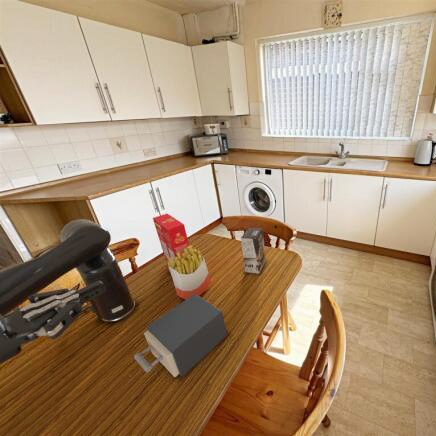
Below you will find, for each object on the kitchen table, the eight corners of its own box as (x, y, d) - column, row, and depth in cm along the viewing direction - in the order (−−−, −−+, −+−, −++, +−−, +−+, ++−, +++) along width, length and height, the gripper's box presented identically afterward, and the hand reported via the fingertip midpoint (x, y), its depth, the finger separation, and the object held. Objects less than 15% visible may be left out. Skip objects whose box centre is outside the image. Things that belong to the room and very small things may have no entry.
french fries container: (212, 286, 90) (203, 246, 82) (187, 305, 81) (174, 262, 74) (204, 282, 92) (194, 242, 84) (179, 300, 83) (166, 258, 76)
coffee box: (259, 274, 96) (255, 239, 89) (244, 272, 97) (239, 237, 90) (266, 260, 104) (263, 228, 97) (252, 259, 105) (248, 227, 98)
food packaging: (198, 281, 92) (184, 224, 82) (185, 288, 89) (168, 229, 78) (182, 266, 102) (167, 213, 91) (169, 272, 98) (152, 217, 88)
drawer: (158, 393, 55) (148, 371, 52) (135, 365, 62) (125, 345, 58) (219, 337, 68) (214, 318, 65) (195, 319, 74) (190, 301, 71)
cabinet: (181, 377, 59) (172, 351, 55) (156, 350, 66) (146, 326, 62) (227, 335, 70) (222, 311, 66) (201, 316, 77) (195, 293, 73)
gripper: (-27, 348, 39) (98, 287, 51) (-18, 399, 32) (124, 314, 44) (-56, 314, 36) (84, 258, 48) (-54, 363, 29) (110, 282, 41)
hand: (103, 285), depth 46 cm, fingers closed
